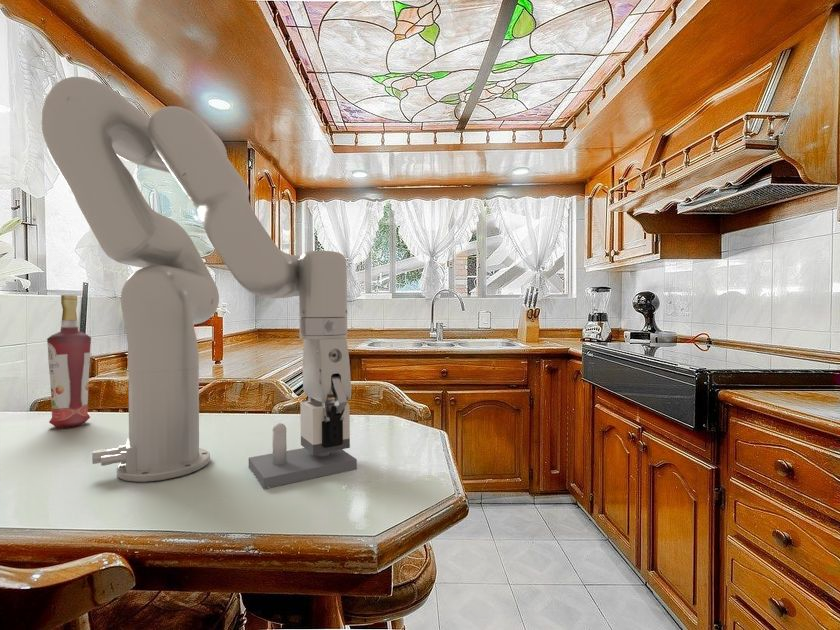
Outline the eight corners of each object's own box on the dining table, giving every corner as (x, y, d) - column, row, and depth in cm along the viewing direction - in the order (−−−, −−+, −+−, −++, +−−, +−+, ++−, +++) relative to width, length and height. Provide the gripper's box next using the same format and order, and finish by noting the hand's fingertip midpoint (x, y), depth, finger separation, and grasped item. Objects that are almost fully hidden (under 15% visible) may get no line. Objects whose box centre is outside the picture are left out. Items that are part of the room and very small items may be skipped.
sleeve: (349, 447, 69) (349, 403, 69) (313, 454, 65) (312, 408, 65) (335, 438, 74) (335, 397, 74) (300, 444, 71) (300, 401, 70)
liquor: (97, 424, 94) (96, 295, 94) (55, 432, 88) (54, 294, 88) (83, 419, 98) (82, 296, 98) (42, 427, 92) (40, 295, 91)
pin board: (263, 489, 60) (263, 434, 60) (248, 467, 68) (248, 419, 68) (356, 468, 67) (356, 420, 67) (332, 451, 76) (332, 408, 76)
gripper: (368, 330, 64) (369, 450, 64) (326, 326, 79) (327, 425, 79) (319, 331, 60) (321, 460, 60) (285, 328, 75) (286, 432, 75)
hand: (324, 439), depth 70 cm, fingers closed on sleeve, 6 cm apart
